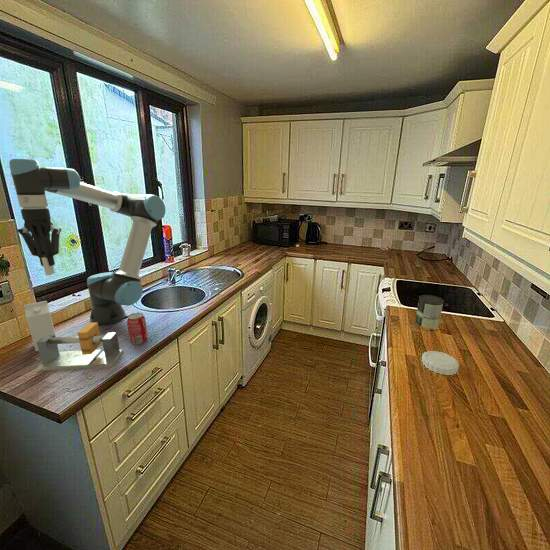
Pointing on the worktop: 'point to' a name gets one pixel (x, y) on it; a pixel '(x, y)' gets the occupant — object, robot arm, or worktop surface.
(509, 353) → the worktop surface
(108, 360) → the pipe stand
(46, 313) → the milk carton
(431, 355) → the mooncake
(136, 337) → the soda can
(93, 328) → the orange tall block
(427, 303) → the coffee can
